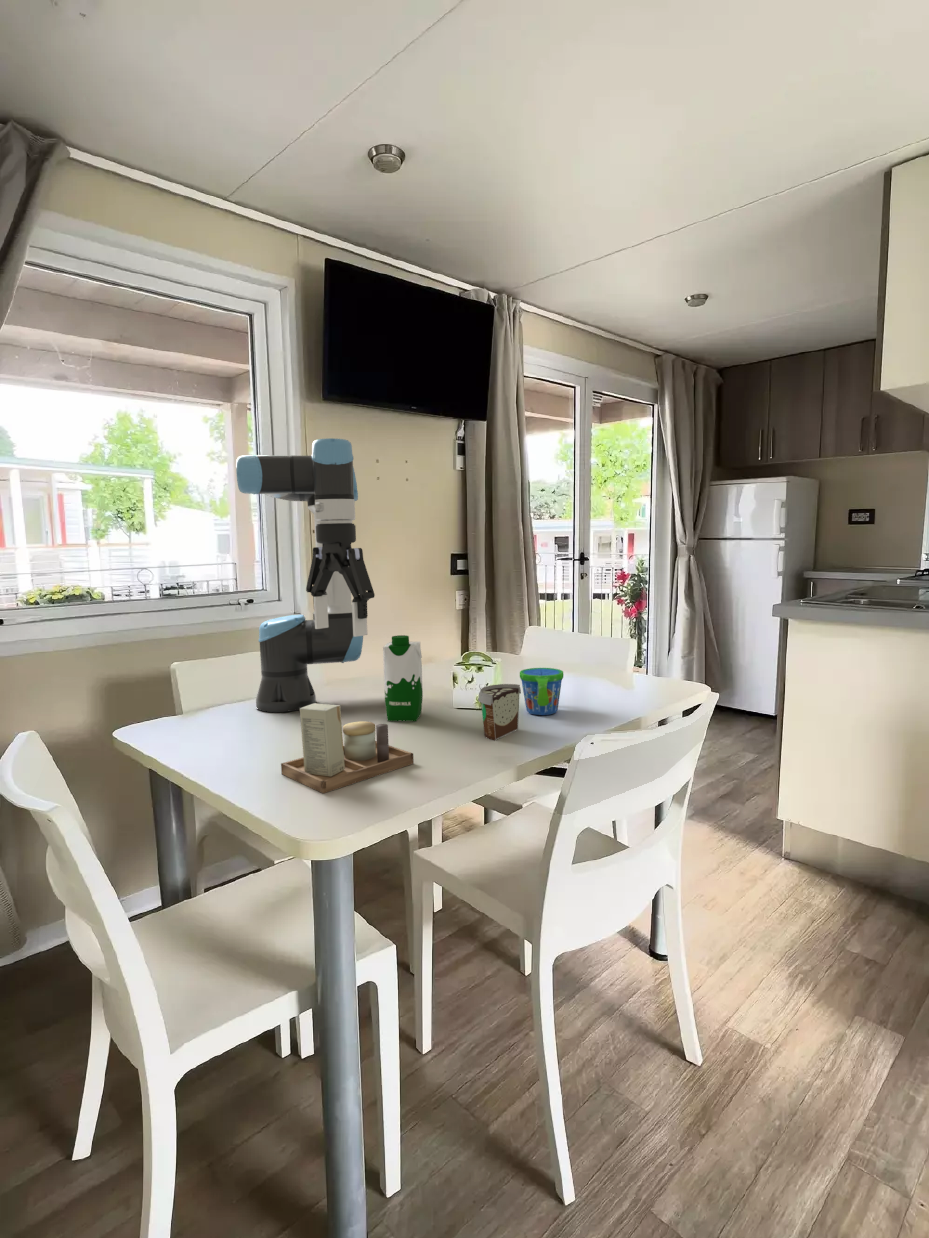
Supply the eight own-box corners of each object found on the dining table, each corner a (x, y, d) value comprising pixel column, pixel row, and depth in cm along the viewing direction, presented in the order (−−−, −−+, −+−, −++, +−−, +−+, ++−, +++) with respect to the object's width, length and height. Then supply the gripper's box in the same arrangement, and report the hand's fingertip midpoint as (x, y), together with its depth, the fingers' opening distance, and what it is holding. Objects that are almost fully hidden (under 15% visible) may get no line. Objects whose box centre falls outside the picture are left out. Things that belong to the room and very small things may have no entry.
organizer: (281, 773, 122) (279, 732, 121) (369, 748, 135) (368, 711, 134) (323, 793, 112) (321, 748, 111) (413, 763, 125) (412, 723, 125)
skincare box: (345, 770, 120) (342, 704, 119) (330, 778, 116) (327, 710, 115) (317, 765, 123) (314, 701, 122) (302, 773, 119) (298, 707, 118)
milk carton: (382, 722, 154) (379, 638, 152) (390, 712, 163) (387, 632, 161) (419, 722, 154) (416, 637, 151) (425, 712, 163) (423, 632, 160)
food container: (498, 724, 151) (497, 681, 150) (521, 728, 147) (520, 684, 146) (467, 737, 141) (466, 692, 140) (491, 742, 137) (490, 695, 136)
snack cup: (523, 703, 169) (522, 664, 168) (564, 704, 167) (564, 665, 166) (516, 720, 154) (516, 677, 152) (562, 721, 152) (562, 678, 150)
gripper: (285, 523, 132) (291, 627, 136) (356, 521, 115) (361, 641, 118) (318, 522, 138) (322, 623, 141) (390, 521, 120) (394, 636, 123)
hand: (340, 631), depth 129 cm, fingers open, 13 cm apart
